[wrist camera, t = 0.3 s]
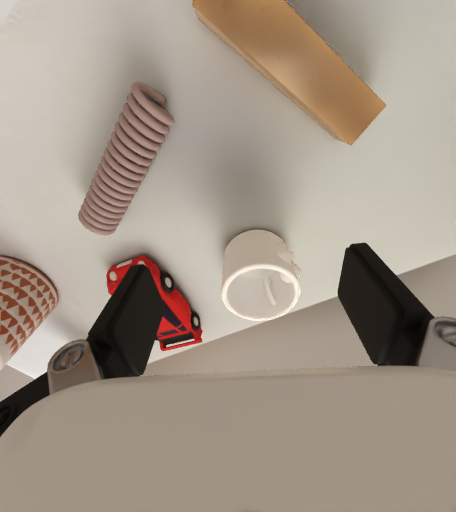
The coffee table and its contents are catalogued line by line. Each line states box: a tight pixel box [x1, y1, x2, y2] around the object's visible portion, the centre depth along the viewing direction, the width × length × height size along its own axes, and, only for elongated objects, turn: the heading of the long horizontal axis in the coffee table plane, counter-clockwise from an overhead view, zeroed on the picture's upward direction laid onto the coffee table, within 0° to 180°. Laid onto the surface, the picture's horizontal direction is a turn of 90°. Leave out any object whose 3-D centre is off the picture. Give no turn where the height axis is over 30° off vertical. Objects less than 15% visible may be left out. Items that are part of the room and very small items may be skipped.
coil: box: [78, 83, 174, 235], centre depth 26 cm, size 5×5×18 cm
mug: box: [221, 230, 301, 321], centre depth 32 cm, size 12×10×9 cm
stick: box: [192, 0, 386, 145], centre depth 21 cm, size 4×18×4 cm, turn 57°
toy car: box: [107, 256, 202, 351], centre depth 40 cm, size 10×20×5 cm, turn 26°
